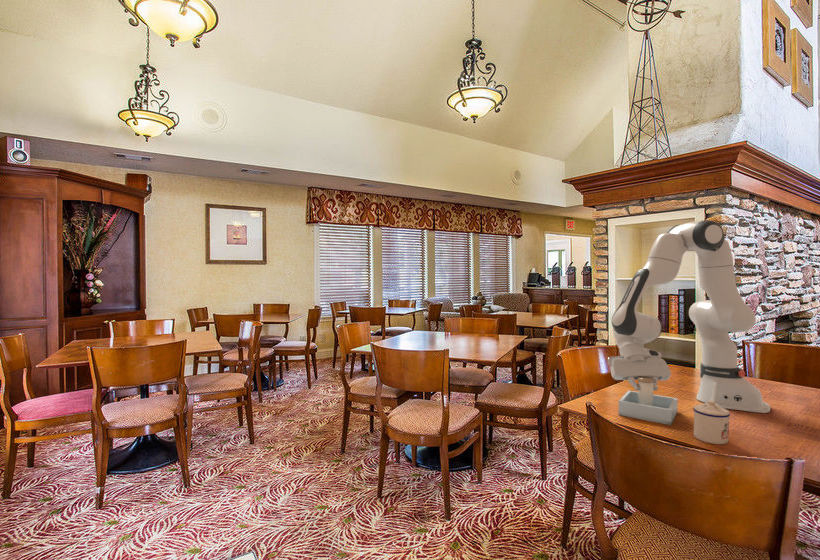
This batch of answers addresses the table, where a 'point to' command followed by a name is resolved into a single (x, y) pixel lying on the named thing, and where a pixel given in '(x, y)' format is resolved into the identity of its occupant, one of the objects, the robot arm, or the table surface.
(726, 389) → the robot arm
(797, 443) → the table surface
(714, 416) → the teacup with lid
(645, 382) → the dressing jar
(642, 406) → the serving bin
